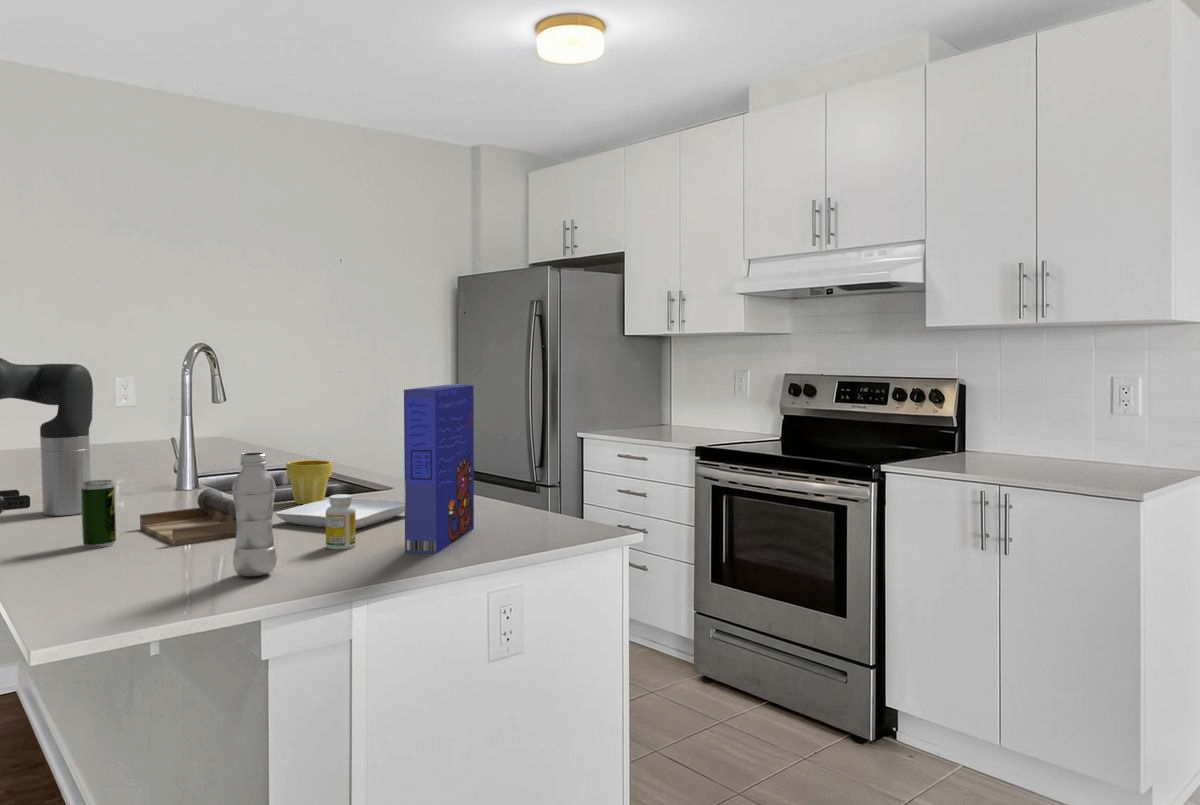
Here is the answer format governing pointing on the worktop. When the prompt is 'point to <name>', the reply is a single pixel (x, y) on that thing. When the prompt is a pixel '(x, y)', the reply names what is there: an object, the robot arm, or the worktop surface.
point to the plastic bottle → (254, 517)
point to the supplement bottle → (340, 523)
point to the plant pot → (309, 479)
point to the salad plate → (364, 508)
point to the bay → (194, 521)
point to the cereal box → (438, 466)
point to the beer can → (98, 513)
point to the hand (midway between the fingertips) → (24, 498)
